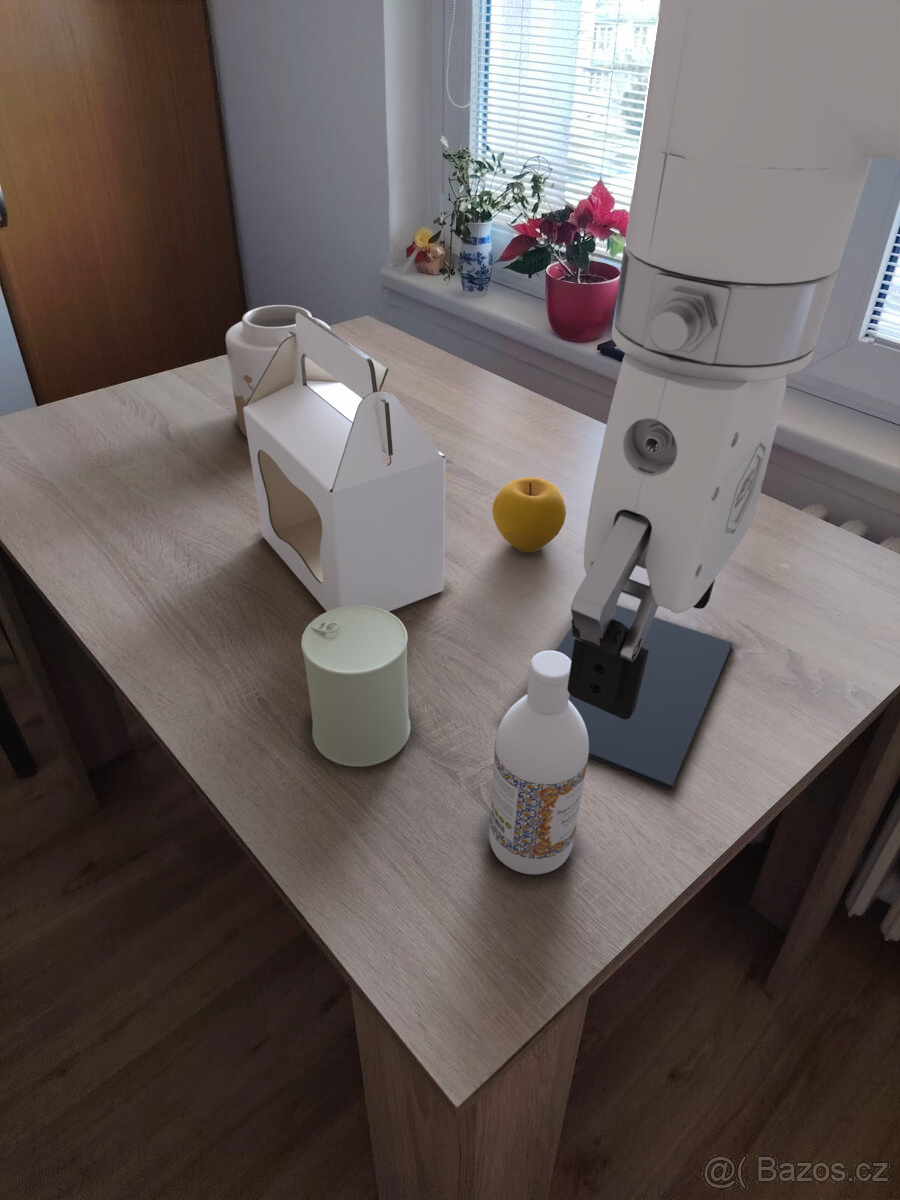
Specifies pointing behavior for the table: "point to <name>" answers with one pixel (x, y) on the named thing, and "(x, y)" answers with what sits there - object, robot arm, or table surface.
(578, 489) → the table surface
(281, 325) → the vase
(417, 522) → the gable box
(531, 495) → the apple
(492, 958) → the table surface
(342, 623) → the can
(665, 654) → the mat
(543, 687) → the bath foam
